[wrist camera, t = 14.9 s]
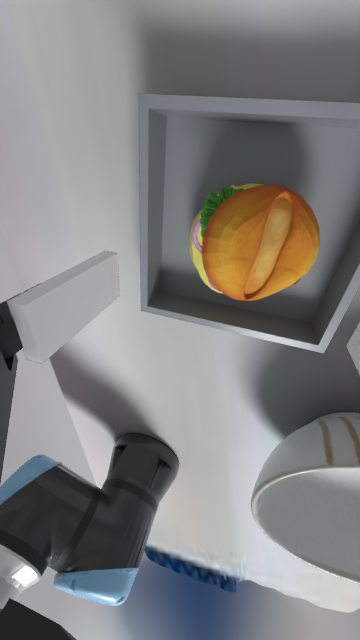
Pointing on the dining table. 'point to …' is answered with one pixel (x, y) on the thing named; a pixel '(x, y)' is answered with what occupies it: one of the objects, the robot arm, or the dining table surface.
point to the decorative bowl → (315, 495)
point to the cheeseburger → (254, 240)
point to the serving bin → (238, 169)
